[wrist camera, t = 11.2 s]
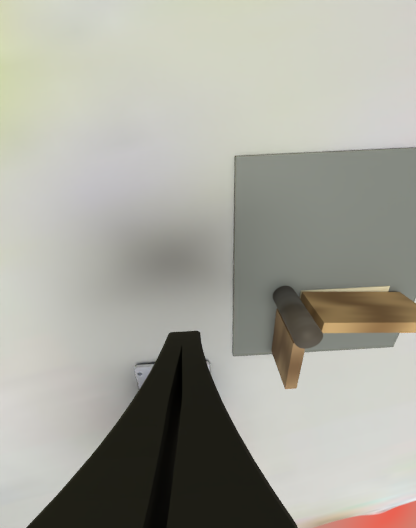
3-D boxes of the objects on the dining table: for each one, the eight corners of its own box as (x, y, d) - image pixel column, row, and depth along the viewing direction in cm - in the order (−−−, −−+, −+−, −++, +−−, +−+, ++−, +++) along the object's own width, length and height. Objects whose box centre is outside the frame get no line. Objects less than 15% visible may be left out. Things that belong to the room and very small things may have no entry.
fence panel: (299, 300, 20) (320, 333, 17) (302, 291, 20) (324, 322, 16) (395, 300, 21) (435, 332, 17) (399, 291, 20) (442, 322, 17)
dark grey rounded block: (285, 349, 24) (306, 399, 19) (266, 350, 24) (283, 400, 19) (296, 285, 20) (325, 326, 15) (273, 286, 20) (296, 328, 15)
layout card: (390, 344, 24) (393, 347, 24) (232, 354, 24) (233, 357, 24) (481, 144, 16) (488, 144, 15) (235, 156, 15) (236, 156, 15)
